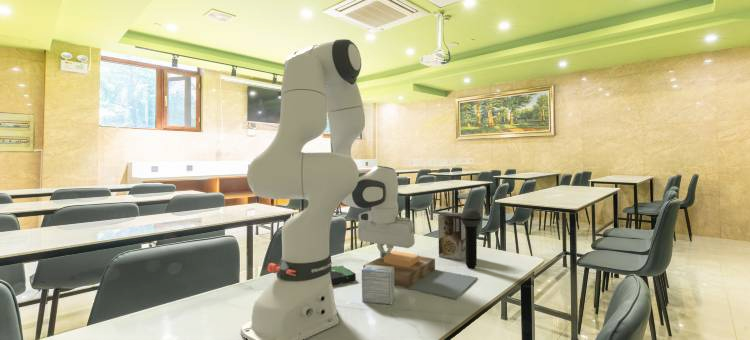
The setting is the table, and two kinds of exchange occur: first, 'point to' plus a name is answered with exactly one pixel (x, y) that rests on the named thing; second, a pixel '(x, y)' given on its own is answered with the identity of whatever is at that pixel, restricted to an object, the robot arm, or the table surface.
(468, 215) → the microphone
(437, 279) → the mat
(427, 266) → the board
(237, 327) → the table surface
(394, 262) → the orange block
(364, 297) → the medicine box
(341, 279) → the disk drive
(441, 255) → the coffee box
